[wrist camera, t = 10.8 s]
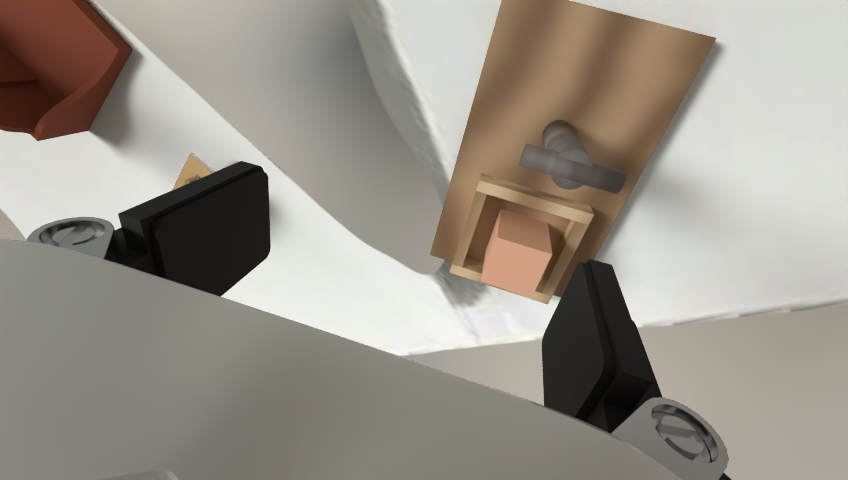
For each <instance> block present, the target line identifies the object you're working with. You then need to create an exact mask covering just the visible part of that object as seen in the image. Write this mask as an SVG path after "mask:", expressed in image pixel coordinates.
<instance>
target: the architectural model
mask: <svg viewBox="0 0 848 480" xmlns="http://www.w3.org/2000/svg"><path fill="white" fill-rule="evenodd" d="M230 125H231V124H230ZM231 126H232V125H231ZM237 131H238V130H237ZM238 132H239V131H238ZM239 133H240V132H239ZM240 134H241V133H240ZM241 135H242V134H241ZM245 138H246V137H245ZM246 139H247V138H246ZM247 140H248V139H247ZM248 141H249V140H248ZM249 142H250V141H249ZM250 143H251V142H250ZM251 144H252V143H251ZM254 146H255V145H254ZM255 147H256V146H255ZM256 148H257V147H256ZM257 149H258V148H257ZM258 150H259V149H258ZM259 151H260V150H259ZM260 152H261V153H262V154H263V155H264V156H265V157H267V156H266V155H265V154H264V153H263V152H262V151H260ZM267 158H268V157H267ZM268 159H269V160H270V161H271V162H272V163H273V164H274V165H275V166H276V167H277V168H278V169H279V170H281V171H282V172H283V173H284V174H285V175H286V176H287V177H288V174H287V173H286V172H285V171H283V170H282V169H281V168H280V167H278V165H276V164H275V163H274V162H273V161H272V160H271V159H270V158H268ZM212 173H214V171H213V170H212V169H211V168H209V167H208V166H207V165H206V164H205V163H204V162H202V161H201V160H200V159H199V158H198V157H196V156H195V155H194V154H193V153H192V154H190V155H189V157H188V159H187V161H186V163H185V165H184V167H183V169H182V171H181V173H180V175H179V177H178V179H177V181H176V184H175V186H174V188H173V190H175V189H177V188H179V187H182V186H184V185H186V184H189V183H191V182H193V181H196V180H197V178H198V179H200V178H203V177H205V176H207V175H210V174H212Z"/></svg>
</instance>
